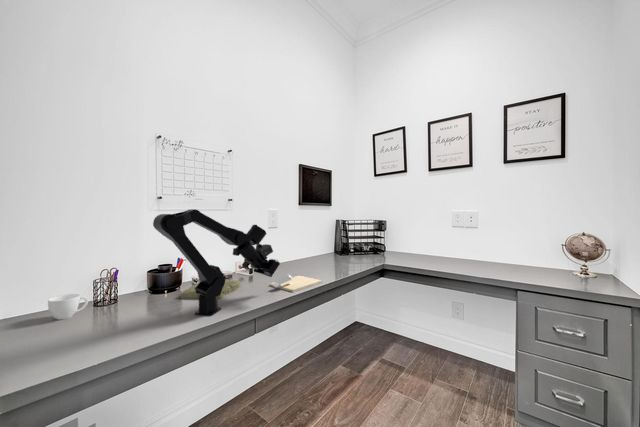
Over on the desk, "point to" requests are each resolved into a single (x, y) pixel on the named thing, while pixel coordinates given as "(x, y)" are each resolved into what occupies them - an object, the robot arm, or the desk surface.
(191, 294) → the olive green cushion
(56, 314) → the cup
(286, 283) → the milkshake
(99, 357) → the desk surface
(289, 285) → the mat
